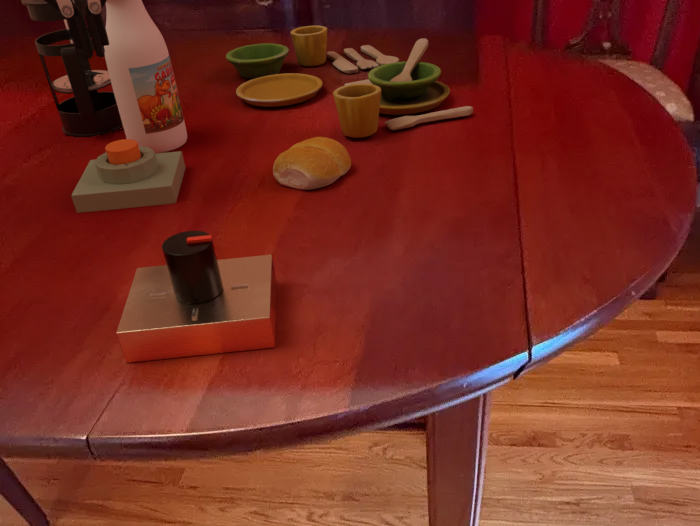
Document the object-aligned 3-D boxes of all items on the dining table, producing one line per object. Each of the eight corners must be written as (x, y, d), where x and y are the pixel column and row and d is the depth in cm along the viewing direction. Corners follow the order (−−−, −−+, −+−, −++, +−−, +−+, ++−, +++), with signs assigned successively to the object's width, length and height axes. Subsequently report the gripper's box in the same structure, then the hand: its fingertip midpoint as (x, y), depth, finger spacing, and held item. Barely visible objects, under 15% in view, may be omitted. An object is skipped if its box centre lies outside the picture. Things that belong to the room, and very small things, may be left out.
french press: (65, 118, 106) (6, -62, 92) (131, 109, 107) (82, -71, 93) (59, 147, 97) (-7, -48, 83) (130, 136, 98) (77, -58, 84)
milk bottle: (128, 159, 92) (79, -16, 80) (130, 138, 98) (85, -28, 85) (189, 150, 93) (150, -24, 80) (188, 130, 99) (151, -35, 86)
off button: (106, 167, 81) (101, 152, 80) (112, 155, 84) (108, 140, 82) (138, 164, 81) (134, 149, 80) (143, 152, 84) (139, 137, 83)
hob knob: (172, 306, 59) (157, 254, 56) (177, 280, 62) (164, 229, 59) (221, 300, 59) (209, 248, 56) (224, 275, 62) (213, 224, 59)
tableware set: (483, 118, 95) (485, 68, 91) (279, 160, 88) (272, 108, 84) (373, 45, 126) (370, 5, 122) (215, 72, 119) (208, 31, 115)
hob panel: (126, 363, 58) (115, 331, 56) (145, 296, 66) (136, 266, 64) (275, 347, 58) (269, 315, 56) (276, 282, 66) (271, 252, 64)
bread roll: (361, 164, 86) (359, 131, 83) (323, 196, 80) (319, 161, 77) (303, 155, 89) (299, 123, 87) (262, 184, 83) (256, 151, 81)
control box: (77, 213, 80) (65, 179, 78) (95, 176, 88) (85, 145, 86) (176, 204, 81) (167, 170, 78) (185, 168, 89) (178, 136, 86)
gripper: (120, -173, 68) (167, 36, 79) (-50, -158, 65) (23, 55, 77) (120, -172, 62) (170, 54, 73) (-67, -155, 60) (15, 75, 71)
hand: (95, 54), depth 75 cm, fingers closed
